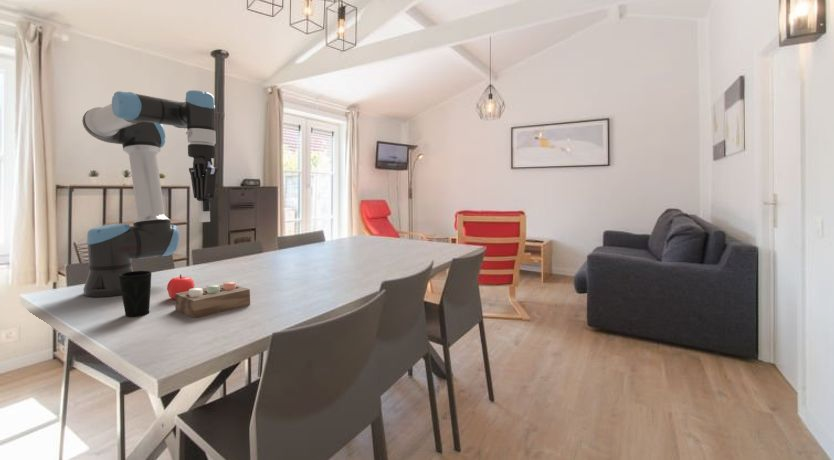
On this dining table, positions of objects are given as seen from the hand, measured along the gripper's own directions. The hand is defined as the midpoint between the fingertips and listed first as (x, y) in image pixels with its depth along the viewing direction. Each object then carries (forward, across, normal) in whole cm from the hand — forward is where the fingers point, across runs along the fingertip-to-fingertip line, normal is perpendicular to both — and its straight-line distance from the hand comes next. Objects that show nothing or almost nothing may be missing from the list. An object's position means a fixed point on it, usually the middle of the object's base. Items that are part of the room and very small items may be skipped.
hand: (204, 221), depth 120 cm
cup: (+27, -6, -17) cm, 32 cm away
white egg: (+24, +4, -5) cm, 25 cm away
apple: (+27, -14, -2) cm, 30 cm away
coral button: (+24, +4, +5) cm, 25 cm away
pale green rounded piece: (+24, +4, 0) cm, 24 cm away
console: (+26, +4, 0) cm, 27 cm away
